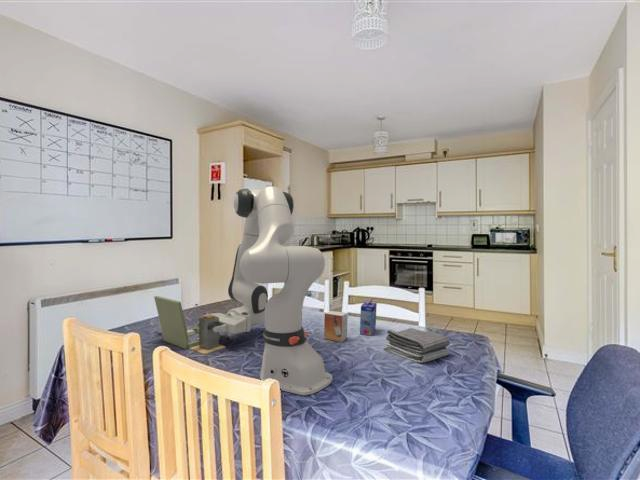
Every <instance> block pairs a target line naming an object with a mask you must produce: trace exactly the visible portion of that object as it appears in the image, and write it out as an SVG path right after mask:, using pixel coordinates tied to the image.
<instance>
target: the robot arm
mask: <svg viewBox="0 0 640 480" xmlns="http://www.w3.org/2000/svg"><path fill="white" fill-rule="evenodd" d="M294 205H295V204H294V199H293V196H292V195H291V193H289V192H285V191H283V190H282V189H280V188H278V187H277V186H272V185H271V186H270V185H269V186H265V187H263V188H262V189H261V188H254V189H253V188H250V189H249V188H243V189H239V190H238V191H237V192H236V193H235V196H234V199H233V208H234V210H235V211H234V212H235V213H236V215H237V216H238V217H241V218H244V225H243V235H242V241H241V243H240V244H239V245H238V247H237V250H236V254H235V259H234V265H233V271H232V274H231V275H232V276H231V279H230V282H229V285H228V289H227V291H228V292H227V293H228V294H227V295H228V296H229V298H230V299H231V300H232V301H234V302H237V303H241V304H242V306H239V307H238V306H237V307H234V308H231V309H229V310H228V311H227V312H226V314H225V313H221V312H215V313H214V312H213V313H207V315H209V314H211V315H215V316H217V317H219V326H215V327H213V328H212V329H213V330H212V331H213V332H219V333H220V332H226V333H229V334H232V335H233V334H235V335H236V334H241V333H248V332H251V330H252V327H255V326H258V325H261V324H263V323H265V324H264V328H263V341H264V347H263V354H262V361H261V362H262V363H261V368H260V371H259V380H260V379H261V380H264V379H267V378H272V379H276V380H278V381H279V382H280V386H281V390H280V391H282V392H283V391H284V392H287V393H291V394H295V395H300V396H308V395H309V396H310V395H312V394H315V393H317V392H320V391H322V390H323V389H325V388H326V387H328V386H329V385H330V384H331V383H332V382H333V374H332V373H329V372H328V371H326V369H325V362H324V358H323V357H322V356H321V355H320V354H319V353H318V352H317V351H316V350H315V349H314V348H313V347H312V345H311V344H310V343H309V342H308V341H307V337H309V336H310V335H309V334H310V332H305V330H304V328H303V324H302V323H303V308H304V302H305V301H304V300H305V298H306V295H307V293H308V291H309V289H310V288H311V286H312V285H313V284H314V282H316V281H317V280H318V279H319V278H320V277H321V276H322V274H323V273H324V271H325V269H326V268H325V266H326V260H325V256H324V255H323V253H322V251H321V250H320V249H319V248H316V247H311V246H306V245H284V244H286V243H287V242H288V241H289V240H290V239H292V236H293V235H294V232H295V226H294V223H293V218H292V214H293V211H294ZM278 283H279V284H280V283H284V284H283V287H282V289H281V290H280V291H279V292H277V293H275V294H274V295H272V296H271V297H269V293H268V289H267V288H266V287H265V286H264V285H262V284H265V285H266V284H278ZM205 315H206V314H204V315H202V316H201V317H203V316H205ZM196 323H197V324H196V326H197V328H199V321H198V322H196Z"/></svg>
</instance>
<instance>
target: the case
mask: <svg viewBox="0 0 640 480" xmlns="http://www.w3.org/2000/svg"><path fill="white" fill-rule="evenodd" d="M153 298H154V302H155V306H156V310H157V314H158V321H159V320H160V324H161V328H162V334H161V340H162V341H164V342H167V343H169V344H172V345H175V346H177V347H180V348H182V349H184V350H188V349H190V348H192V347H195V346H198V345H199V340H195V341H192V342H189V336H194V335H195V334H196V333H198V334H199V327H196V326H195V327H191V328H188V329H187V324H186V321H185V315H184V311H183V308H182V307H183V305H182V303H181V301H178V300H176V299H172V298H167V297H164V296H163V297H162V296H158V295H155V296H153ZM219 340H221V334H219Z"/></svg>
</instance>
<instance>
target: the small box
mask: <svg viewBox="0 0 640 480" xmlns="http://www.w3.org/2000/svg"><path fill="white" fill-rule="evenodd" d="M348 316H349V313H348V312H341V311H333V310H329V311H327V312H324V324H323V325H324V326H323V330H324V331H323V339H324V340H329V341H334V342H338V343H343V342H344V341H346V340H347V339H348V318H349V317H348Z"/></svg>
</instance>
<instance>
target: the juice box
mask: <svg viewBox="0 0 640 480" xmlns="http://www.w3.org/2000/svg"><path fill="white" fill-rule="evenodd" d="M373 300H374V298H372V299H371V300H370V301H364V303H362V304H361V305H360V316H359V317H360V320H359V322H360V323H359V324H360V325H359V334H360V335H364V336H365V335H366V336H371V337H372V336H373V334H374V333H375V331H376V325H377V324H376V323H377V306H378V304H377V302H375V301H374V302H373Z"/></svg>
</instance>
